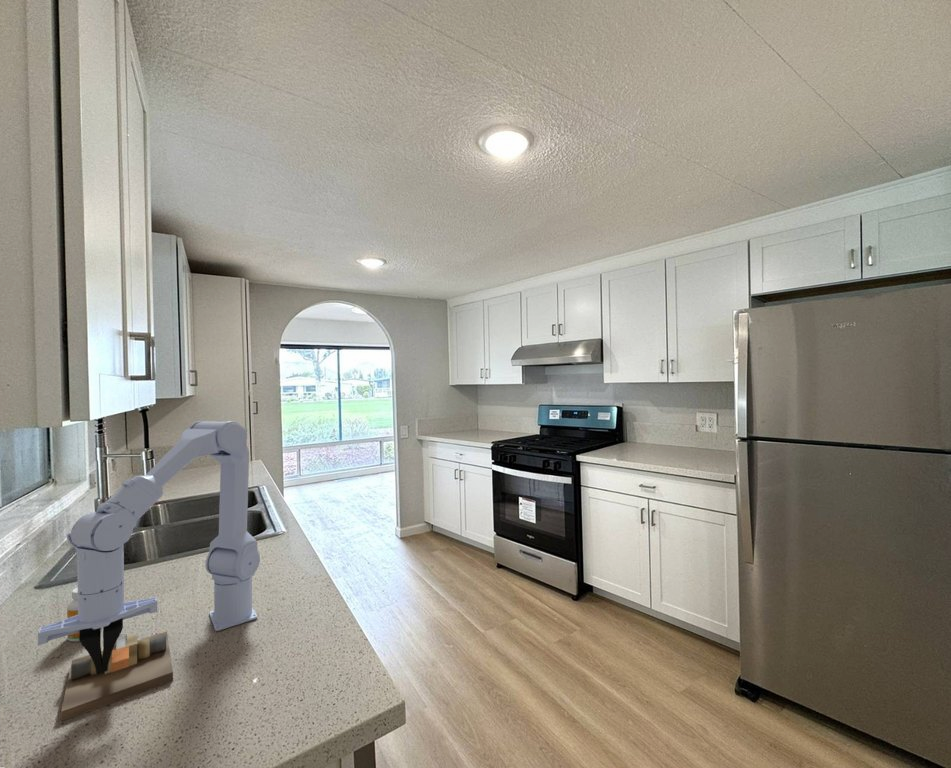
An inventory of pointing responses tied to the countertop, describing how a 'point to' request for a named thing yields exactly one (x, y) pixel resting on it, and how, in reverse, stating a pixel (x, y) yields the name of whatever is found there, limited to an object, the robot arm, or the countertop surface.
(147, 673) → the valve base
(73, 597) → the supplement bottle
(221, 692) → the countertop surface
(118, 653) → the valve lever
